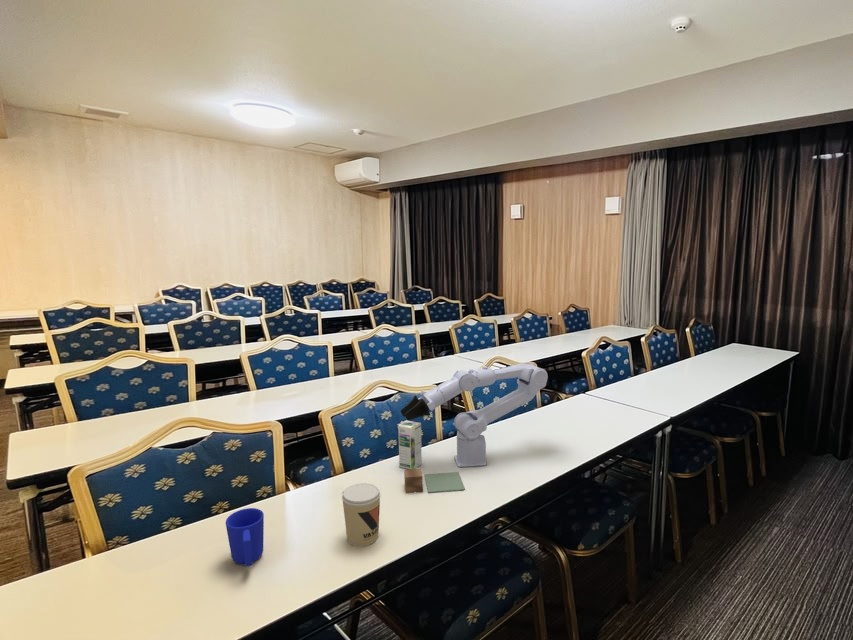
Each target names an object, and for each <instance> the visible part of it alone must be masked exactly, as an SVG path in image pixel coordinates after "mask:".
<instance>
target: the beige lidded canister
mask: <svg viewBox="0 0 853 640" xmlns="http://www.w3.org/2000/svg"><path fill="white" fill-rule="evenodd" d="M380 498H381V491H380V489H379V487H378V486H377V485H375V484H372V483H367V482H359V483H355V484H351V485H349V486H348V487H346V488H345V489H344V490H343V492H342V494H341V500H342V507H343V515H344V522H345V523H344V525H345V530H346V538H347V542H348V543H349V544H351V545H352V546H355V547H366V546H369V545H372V544H374V543H375V542H376V541H377V540H378V538H379V534H380V533H379V531H380V529H379V528H380V507H381V506H380V504H381V499H380Z"/></svg>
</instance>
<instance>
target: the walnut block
mask: <svg viewBox="0 0 853 640" xmlns="http://www.w3.org/2000/svg"><path fill="white" fill-rule="evenodd" d="M403 472H404V473H403V475H404V478H403V479H404V491H405V494H414V492H416V493H423V491H424V489H423V488H424V487H423V486H424V484H423V482H424V481H423V471H422V468H416V469H406V468H404V470H403Z"/></svg>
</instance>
